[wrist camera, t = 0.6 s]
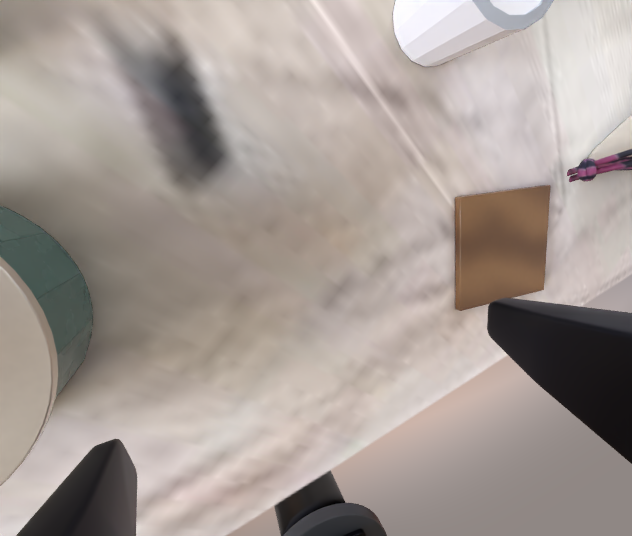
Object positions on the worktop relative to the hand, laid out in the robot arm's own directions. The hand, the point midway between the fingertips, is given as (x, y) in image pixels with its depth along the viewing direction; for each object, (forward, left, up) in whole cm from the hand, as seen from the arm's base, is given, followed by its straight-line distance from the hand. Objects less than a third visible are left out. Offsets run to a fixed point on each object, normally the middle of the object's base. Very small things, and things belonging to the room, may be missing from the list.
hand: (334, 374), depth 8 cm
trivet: (-2, -22, -16) cm, 27 cm away
